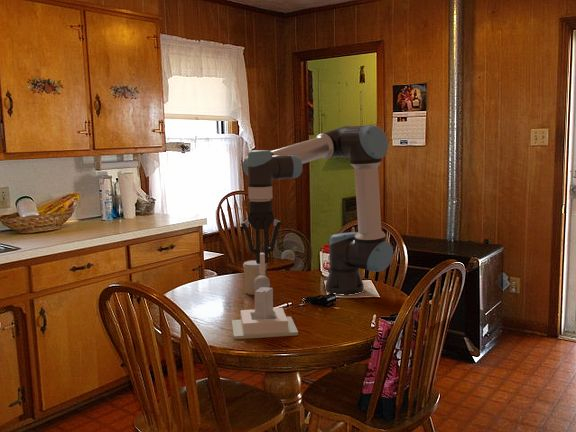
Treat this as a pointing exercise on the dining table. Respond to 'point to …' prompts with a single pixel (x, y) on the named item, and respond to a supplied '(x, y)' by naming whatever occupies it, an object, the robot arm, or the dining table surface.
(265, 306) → the skincare box
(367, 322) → the dining table surface
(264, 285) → the lightbulb
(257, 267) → the coffee cup
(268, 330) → the holder
